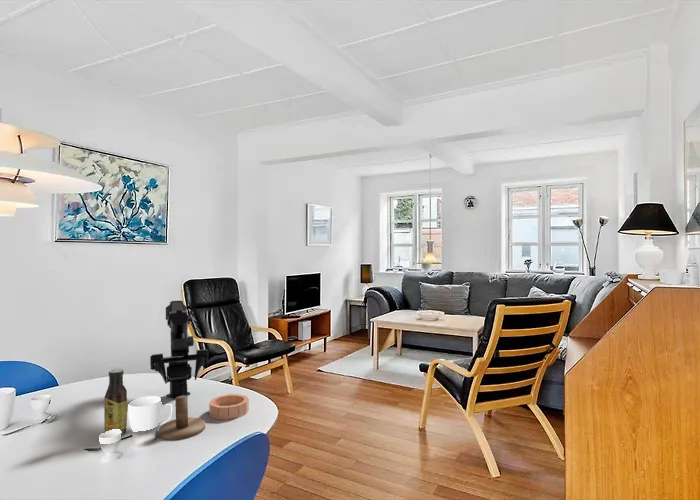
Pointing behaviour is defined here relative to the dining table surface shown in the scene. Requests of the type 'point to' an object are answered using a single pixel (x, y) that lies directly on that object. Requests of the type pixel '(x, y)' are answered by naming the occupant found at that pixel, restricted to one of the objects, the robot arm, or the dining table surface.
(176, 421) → the walnut lid
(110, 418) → the sauce bottle
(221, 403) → the terracotta bowl
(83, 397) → the dining table surface
